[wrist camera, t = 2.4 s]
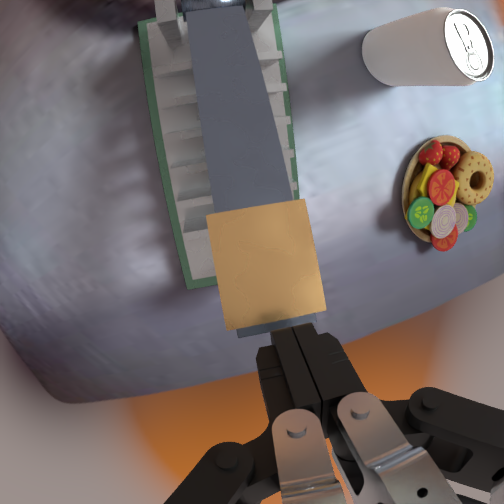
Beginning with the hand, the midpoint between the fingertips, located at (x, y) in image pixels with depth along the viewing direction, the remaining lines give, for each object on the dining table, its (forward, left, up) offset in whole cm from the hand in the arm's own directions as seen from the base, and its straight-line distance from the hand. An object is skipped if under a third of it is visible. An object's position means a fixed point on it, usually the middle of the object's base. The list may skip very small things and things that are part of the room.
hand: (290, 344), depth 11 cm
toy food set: (+24, -2, -20) cm, 31 cm away
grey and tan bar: (0, +7, -9) cm, 11 cm away
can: (+17, +13, -20) cm, 29 cm away
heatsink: (0, +5, -20) cm, 20 cm away
